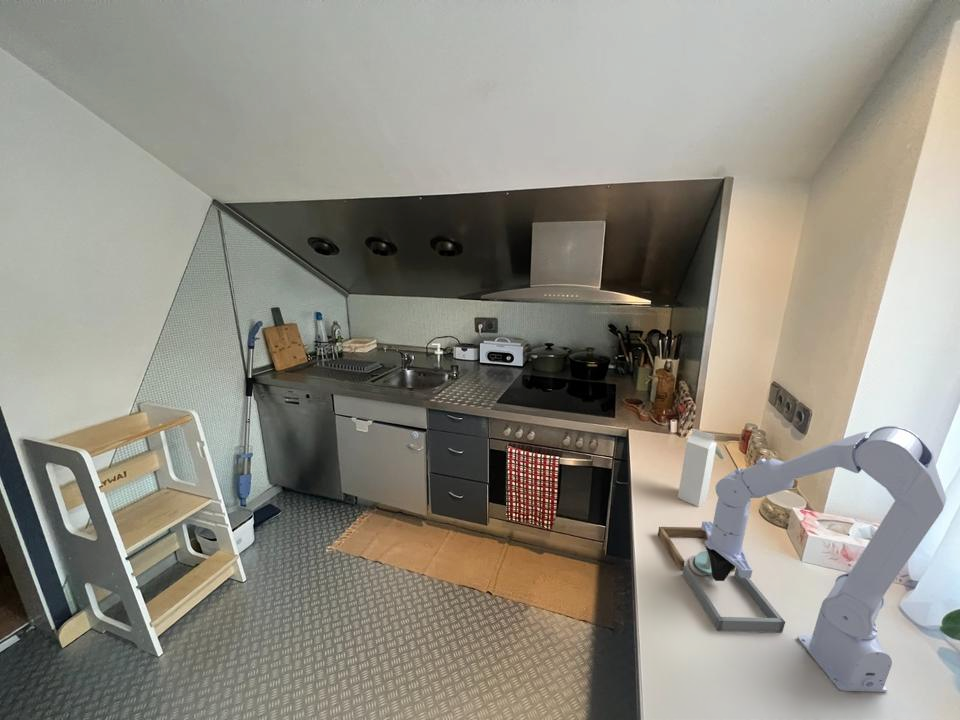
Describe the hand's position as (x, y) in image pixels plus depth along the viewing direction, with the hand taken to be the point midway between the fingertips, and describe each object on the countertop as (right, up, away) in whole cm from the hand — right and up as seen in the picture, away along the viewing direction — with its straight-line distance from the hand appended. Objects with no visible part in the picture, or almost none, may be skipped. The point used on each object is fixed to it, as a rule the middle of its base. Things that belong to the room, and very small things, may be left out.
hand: (718, 578), depth 85 cm
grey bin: (0, -3, -4) cm, 4 cm away
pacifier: (0, -1, +5) cm, 5 cm away
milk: (+11, +6, +31) cm, 34 cm away
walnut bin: (0, +1, +10) cm, 10 cm away
